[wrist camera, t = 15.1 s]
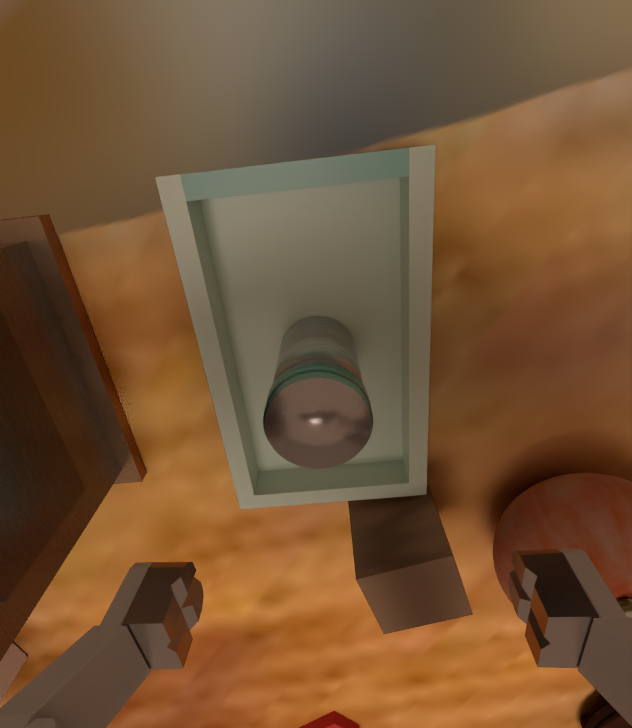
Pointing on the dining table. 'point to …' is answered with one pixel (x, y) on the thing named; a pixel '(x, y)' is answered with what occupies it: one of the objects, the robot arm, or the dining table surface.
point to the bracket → (332, 722)
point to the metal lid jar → (318, 396)
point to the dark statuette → (605, 719)
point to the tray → (312, 305)
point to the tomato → (573, 527)
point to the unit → (49, 419)
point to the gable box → (10, 668)
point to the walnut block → (405, 562)
